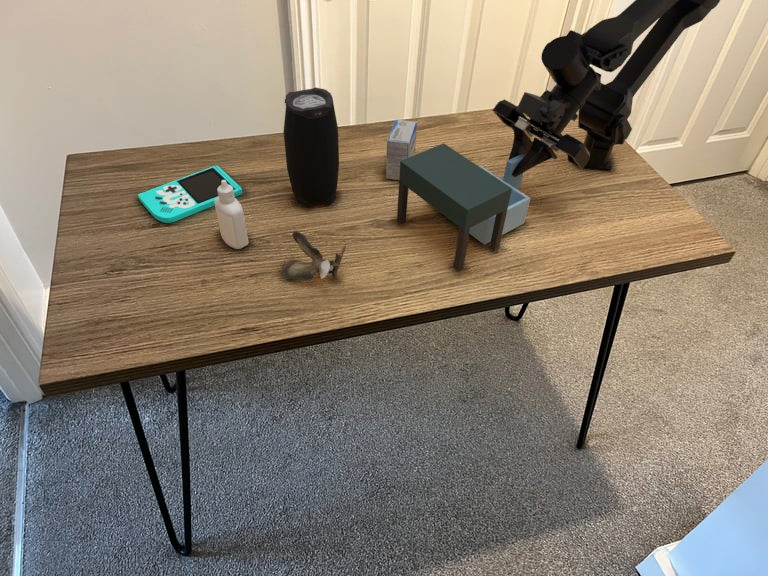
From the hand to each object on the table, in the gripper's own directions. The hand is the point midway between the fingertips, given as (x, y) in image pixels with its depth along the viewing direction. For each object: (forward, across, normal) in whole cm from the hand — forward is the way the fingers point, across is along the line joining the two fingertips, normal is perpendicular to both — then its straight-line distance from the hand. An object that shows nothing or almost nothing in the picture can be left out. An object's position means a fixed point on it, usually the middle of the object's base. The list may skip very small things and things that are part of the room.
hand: (509, 173), depth 105 cm
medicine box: (+11, -20, 0) cm, 23 cm away
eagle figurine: (+32, -6, -22) cm, 39 cm away
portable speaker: (+24, -23, -14) cm, 35 cm away
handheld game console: (+37, -36, -26) cm, 58 cm away
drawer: (+7, 0, +2) cm, 8 cm away
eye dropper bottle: (+36, -20, -26) cm, 49 cm away
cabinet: (+15, 0, -5) cm, 16 cm away
